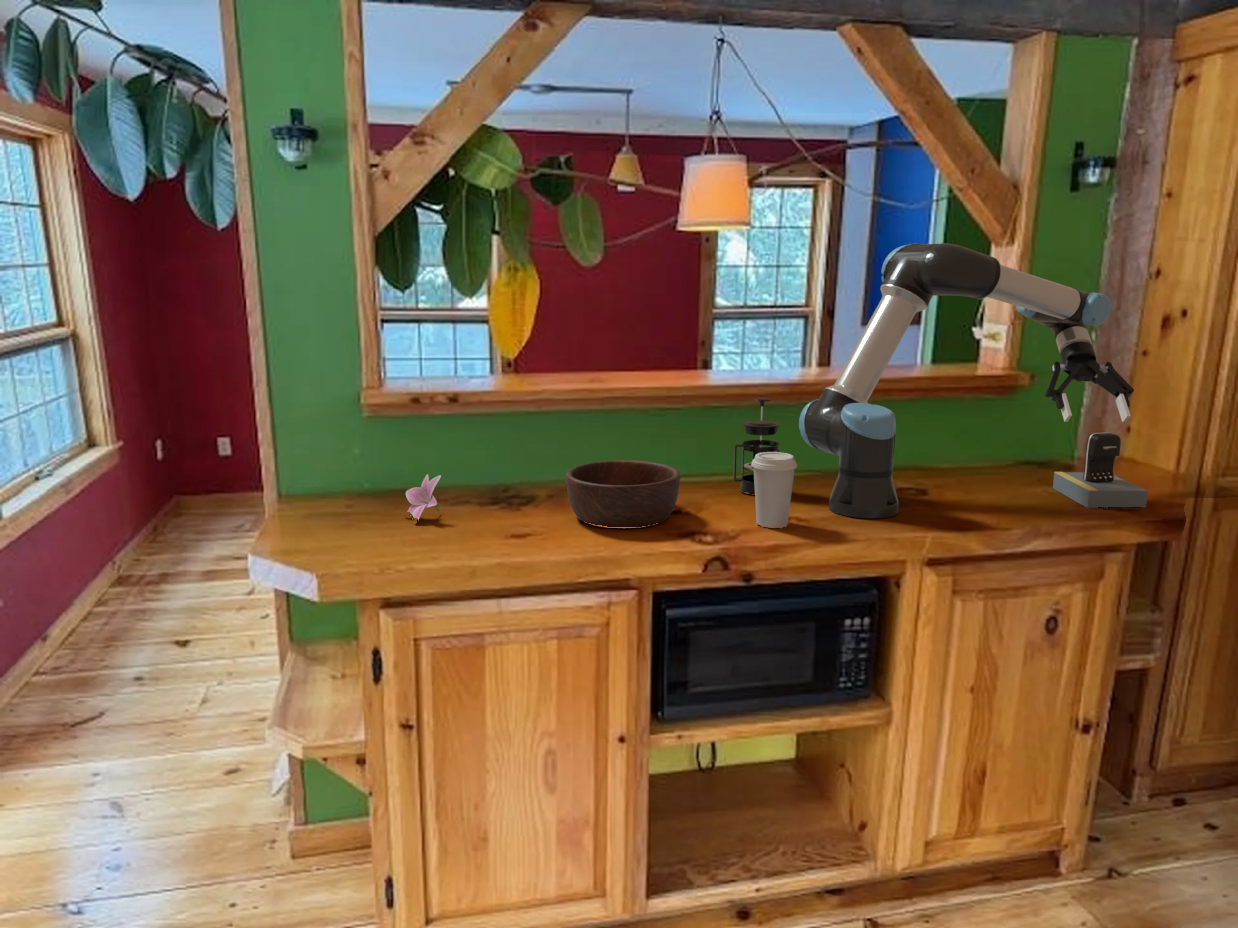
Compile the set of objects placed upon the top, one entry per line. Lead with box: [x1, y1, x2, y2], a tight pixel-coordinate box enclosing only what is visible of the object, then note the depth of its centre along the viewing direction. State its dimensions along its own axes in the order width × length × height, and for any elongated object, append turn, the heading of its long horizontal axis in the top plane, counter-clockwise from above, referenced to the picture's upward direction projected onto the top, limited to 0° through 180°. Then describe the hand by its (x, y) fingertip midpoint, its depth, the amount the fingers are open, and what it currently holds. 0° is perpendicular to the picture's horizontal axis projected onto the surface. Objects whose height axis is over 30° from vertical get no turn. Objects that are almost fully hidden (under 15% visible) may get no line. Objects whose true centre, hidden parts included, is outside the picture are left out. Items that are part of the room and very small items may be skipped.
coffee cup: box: [750, 451, 798, 529], centre depth 189 cm, size 10×10×15 cm
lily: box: [405, 473, 442, 521], centre depth 196 cm, size 12×12×10 cm
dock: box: [1052, 471, 1149, 509], centre depth 211 cm, size 13×18×4 cm
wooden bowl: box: [565, 459, 681, 527], centre depth 196 cm, size 25×25×10 cm
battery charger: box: [1083, 432, 1122, 482], centre depth 209 cm, size 7×4×11 cm, turn 101°
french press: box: [732, 397, 781, 494], centre depth 216 cm, size 12×9×23 cm
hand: (1097, 419), depth 213 cm, fingers open, 13 cm apart
